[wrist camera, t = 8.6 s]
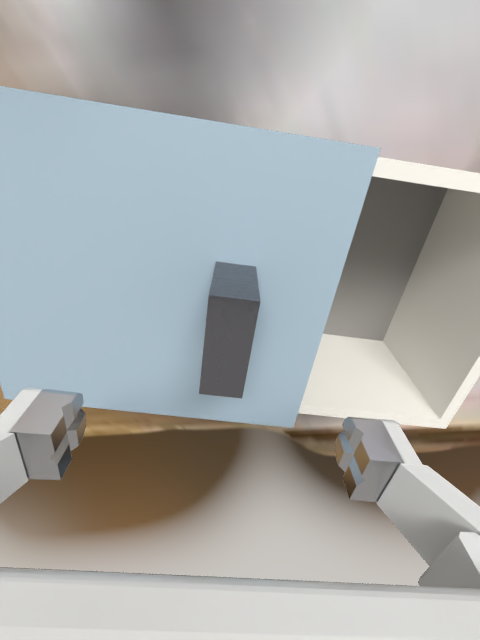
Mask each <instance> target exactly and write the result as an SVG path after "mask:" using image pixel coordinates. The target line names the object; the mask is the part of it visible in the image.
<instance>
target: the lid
mask: <svg viewBox="0 0 480 640" xmlns="http://www.w3.org/2000/svg"><path fill="white" fill-rule="evenodd" d="M380 149H381V148H377V147H371V146H364V145H358V144H352V143H346V142H340V141H334V140H328V139H321V138H315V137H309V136H303V135H297V134H291V133H285V132H279V131H272V130H266V129H260V128H254V127H248V126H242V125H236V124H229V123H223V122H217V121H211V120H205V119H199V118H193V117H187V116H180V115H174V114H168V113H162V112H156V111H150V110H144V109H137V108H131V107H125V106H119V105H113V104H107V103H101V102H95V101H88V100H82V99H76V98H70V97H64V96H58V95H52V94H45V93H39V92H33V91H27V90H21V89H15V88H9V87H3V86H0V384H1V388H2V391H3V394H4V398H5V399H12V400H14V399H15V397H16V396H17V395H18V394H19V393H20V392H21V391H22V390H23V389H25V388H27V387H30V388H39V389H51V390H60V391H68V392H77V393H81V394H82V395H83V400H84V403H83V405H82V407H91V408H101V409H111V410H121V411H130V412H140V413H150V414H160V415H170V416H180V417H189V418H199V419H209V420H219V421H229V422H239V423H249V424H258V425H268V426H278V427H288V428H294V424H295V421H296V418H297V415H298V412H299V408H300V405H301V402H302V399H303V396H304V392H305V389H306V386H307V383H308V380H309V376H310V373H311V370H312V367H313V363H314V360H315V357H316V354H317V351H318V347H319V344H320V341H321V338H322V335H323V331H324V328H325V325H326V322H327V319H328V315H329V312H330V309H331V306H332V303H333V299H334V296H335V293H336V290H337V287H338V283H339V280H340V277H341V274H342V271H343V267H344V264H345V261H346V258H347V255H348V251H349V248H350V245H351V242H352V239H353V235H354V232H355V229H356V226H357V223H358V219H359V216H360V213H361V210H362V207H363V203H364V200H365V197H366V194H367V191H368V187H369V184H370V181H371V178H372V175H373V171H374V168H375V165H376V162H377V158H378V155H379V152H380Z"/></svg>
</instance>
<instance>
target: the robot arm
mask: <svg viewBox="0 0 480 640" xmlns="http://www.w3.org/2000/svg"><path fill="white" fill-rule="evenodd" d="M83 403H84V400H83V395H82V394H81V393H77V392H68V391H60V390H51V389H39V388H30V387H27V388H25V389H23V390H22V391H21V392H20V393H19V394H18V395H17V396H16V397H15V399H14V400H13V401H12V402H11V403H10V404H9V406H8V407H7V408H6V409H5V410H4V411H3V412H2V414H1V415H0V503H2V502H3V501H4V500H5V499H6V498H8V497H9V496H10V495H11V494H13V493H14V492H15V491H16V490H18V489H19V488H20V487H21V486H22V485H24V484H25V483H26V482H27V481H28V479H46V480H61V479H62V477H63V475H64V473H65V471H66V469H67V467H68V465H69V463H70V462H71V460H72V457H71V450H73V449H74V448H76V447H77V446H79V444H80V442H81V440H82V438H83V435H84V431H85V428H86V413H85V412H84V411H83V410H82V409H81V407H82V405H83ZM343 428H344V431H343V432H342V433H340V434H339V435H338V437H337V440H336V443H335V454H336V459H337V462H338V466H339V467H340V468H342V470H343V471H344V472H345V474H344V477H343V481H344V484H345V487H346V490H347V493H348V496H349V499H350V500H359V501H369V502H377V505H378V506H379V507H380V508H381V509H382V511H383V512H384V513H385V514H386V515H387V517H388V518H389V519H390V520H391V521H392V522H393V524H394V525H395V526H396V527H397V528H398V529H399V530H400V532H401V533H402V534H403V535H404V537H405V538H406V539H407V540H408V541H409V543H411V545H412V546H413V547H414V548H415V549H416V551H417V552H418V553H419V554H420V555H421V557H422V558H423V559H424V560H425V561H426V563H427V564H428V565H429V566H430V567H429V568H428V569H427V570H426V571H425V572H424V574H423V575H422V576H421V577H420V579H419V581H418V583H419V586H407V585H384V584H363V583H362V584H361V583H341V582H319V581H297V580H296V581H295V580H275V579H274V580H273V579H251V578H231V577H208V576H186V575H163V574H162V575H161V574H142V573H120V572H97V571H75V570H51V569H29V568H8V567H0V640H480V507H479V506H478V505H477V504H476V503H474V502H473V501H472V500H470V499H469V498H468V497H467V496H466V495H464V494H463V493H462V492H460V491H459V490H458V489H457V488H455V487H454V486H453V485H452V484H450V483H449V482H448V481H446V480H445V479H444V478H443V477H441V476H440V475H439V474H438V473H436V472H435V471H434V470H433V469H431V468H430V467H429V466H427V465H422V463H421V461H420V460H419V458H418V456H417V455H416V453H415V451H414V450H413V448H412V446H411V444H410V443H409V441H408V439H407V438H406V436H405V434H404V433H403V431H402V429H401V428H400V426H399V424H398V423H397V422H396V421H395V420H385V419H372V418H359V417H347V418H346V419H345V420H344V423H343Z"/></svg>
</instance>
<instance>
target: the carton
mask: <svg viewBox="0 0 480 640" xmlns="http://www.w3.org/2000/svg"><path fill="white" fill-rule="evenodd" d="M479 376H480V173H474V172H468V171H462V170H456V169H450V168H443V167H437V166H431V165H425V164H418V163H412V162H406V161H400V160H394V159H387V158H381V157H378V158H377V162H376V165H375V168H374V171H373V175H372V178H371V181H370V184H369V187H368V191H367V194H366V197H365V200H364V203H363V207H362V210H361V213H360V216H359V219H358V223H357V226H356V229H355V232H354V235H353V239H352V242H351V245H350V248H349V251H348V255H347V258H346V261H345V264H344V267H343V271H342V274H341V277H340V280H339V283H338V287H337V290H336V293H335V296H334V299H333V303H332V306H331V309H330V312H329V315H328V319H327V322H326V325H325V328H324V331H323V335H322V338H321V341H320V344H319V347H318V351H317V354H316V357H315V360H314V363H313V367H312V370H311V373H310V376H309V380H308V383H307V386H306V389H305V392H304V396H303V399H302V402H301V405H300V408H299V412H298V413H301V414H310V415H320V416H329V417H339V418H347V417H359V418H372V419H385V420H395V421H396V422H397V423H398V424H406V425H415V426H425V427H434V428H444V429H446V427H447V426H448V424H449V423H450V421H451V420H452V418H453V416H454V415H455V413H456V412H457V410H458V409H459V407H460V406H461V404H462V403H463V401H464V399H465V398H466V396H467V395H468V393H469V392H470V390H471V389H472V387H473V385H474V384H475V382H476V381H477V379H478V378H479Z"/></svg>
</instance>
